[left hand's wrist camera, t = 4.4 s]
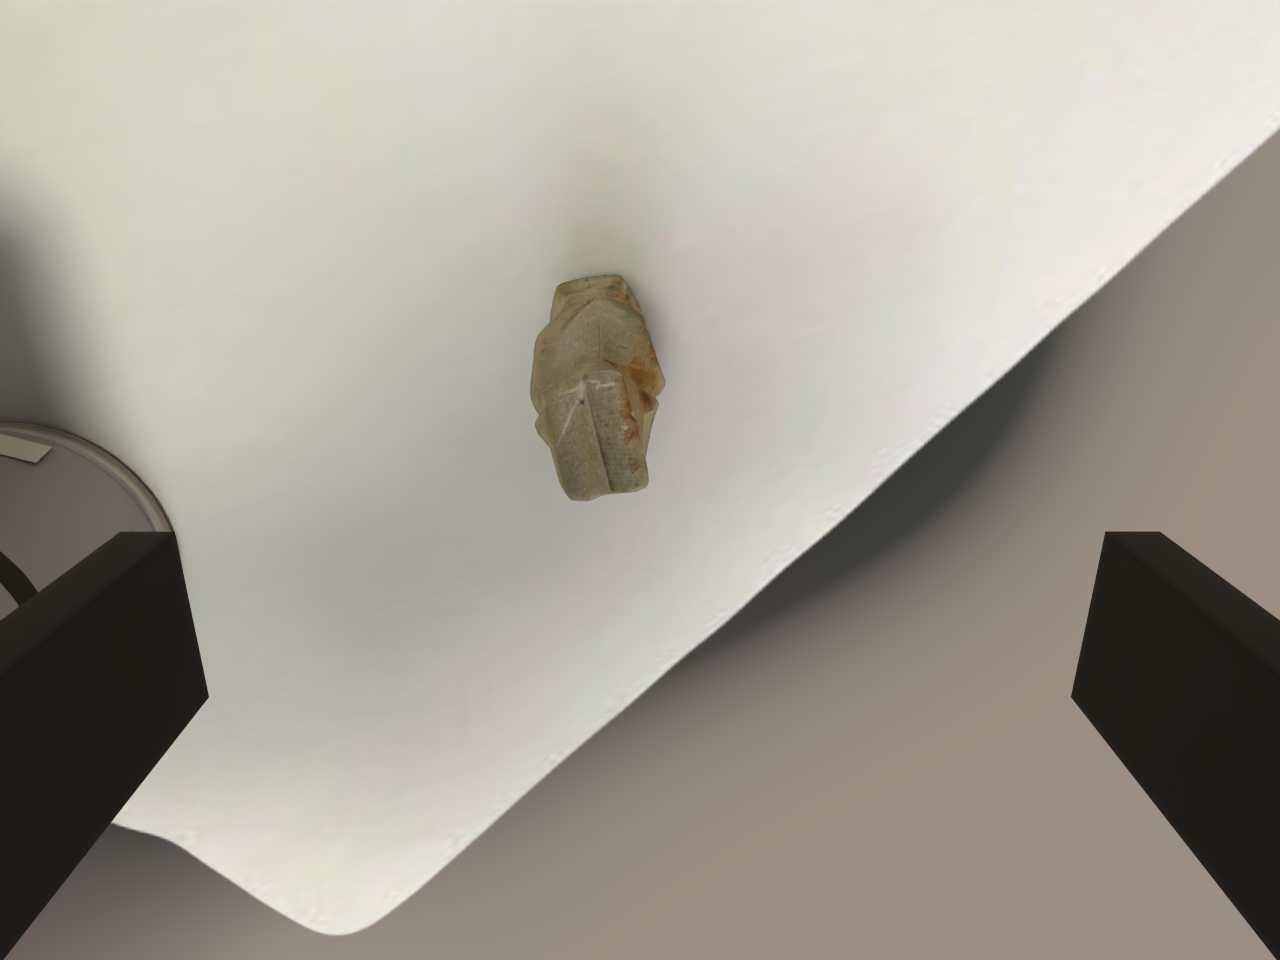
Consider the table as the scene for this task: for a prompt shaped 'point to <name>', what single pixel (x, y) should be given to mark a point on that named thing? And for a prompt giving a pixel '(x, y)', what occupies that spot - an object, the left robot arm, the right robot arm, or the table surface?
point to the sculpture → (596, 387)
